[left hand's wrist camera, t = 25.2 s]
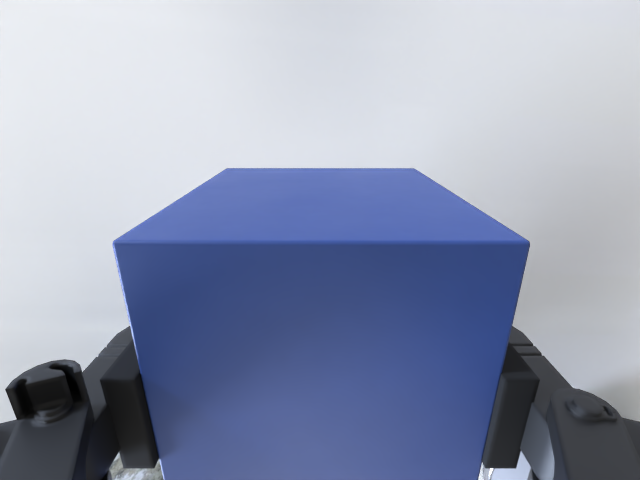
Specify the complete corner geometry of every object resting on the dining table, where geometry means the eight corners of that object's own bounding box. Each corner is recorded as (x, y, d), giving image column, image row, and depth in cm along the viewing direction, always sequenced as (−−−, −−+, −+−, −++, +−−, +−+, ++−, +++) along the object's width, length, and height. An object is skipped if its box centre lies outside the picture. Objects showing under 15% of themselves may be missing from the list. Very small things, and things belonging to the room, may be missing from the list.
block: (399, 338, 18) (467, 535, 10) (241, 338, 18) (174, 534, 10) (415, 168, 15) (532, 241, 7) (225, 168, 15) (109, 241, 7)
